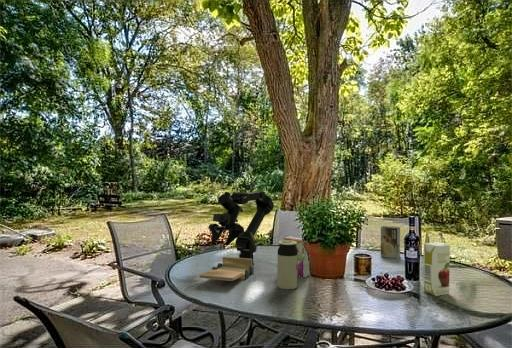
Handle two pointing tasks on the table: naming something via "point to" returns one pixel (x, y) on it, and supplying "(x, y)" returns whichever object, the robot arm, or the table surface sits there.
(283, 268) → the travel mug
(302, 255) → the spray bottle
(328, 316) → the table surface
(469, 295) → the table surface
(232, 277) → the tailgate
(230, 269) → the cart bed
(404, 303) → the table surface
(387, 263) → the table surface
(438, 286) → the juice carton
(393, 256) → the coffee box
